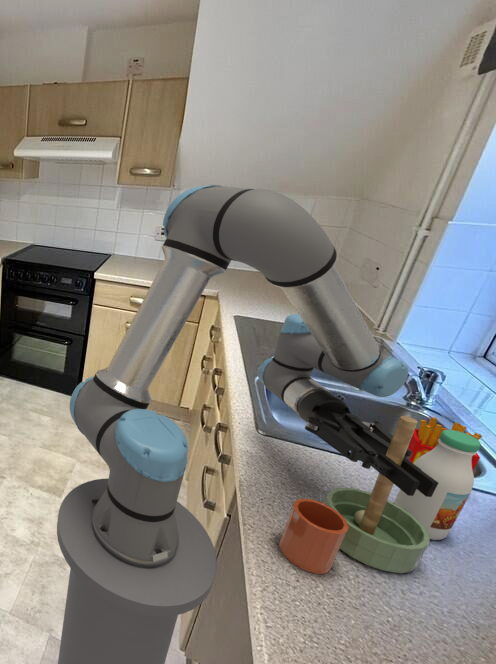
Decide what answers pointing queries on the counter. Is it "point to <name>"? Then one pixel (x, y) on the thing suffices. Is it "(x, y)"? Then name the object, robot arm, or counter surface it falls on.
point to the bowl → (380, 533)
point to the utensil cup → (313, 535)
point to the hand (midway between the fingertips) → (422, 489)
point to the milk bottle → (443, 483)
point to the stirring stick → (382, 483)
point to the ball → (359, 516)
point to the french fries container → (433, 439)
